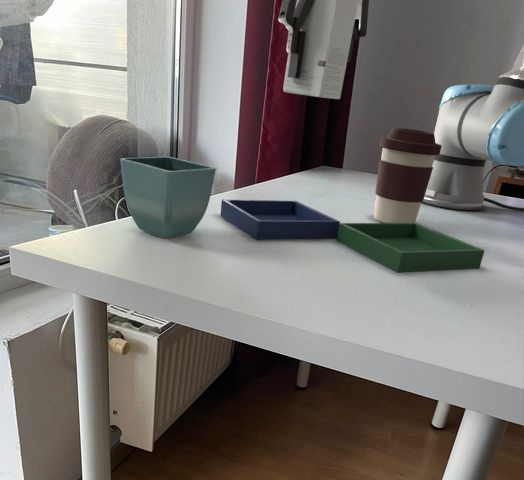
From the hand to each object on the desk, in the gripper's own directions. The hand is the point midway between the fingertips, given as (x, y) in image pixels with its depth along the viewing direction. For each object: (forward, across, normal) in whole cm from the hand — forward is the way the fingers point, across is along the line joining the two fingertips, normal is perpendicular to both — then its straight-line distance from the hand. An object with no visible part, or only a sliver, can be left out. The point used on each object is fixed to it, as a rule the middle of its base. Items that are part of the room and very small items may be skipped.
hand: (315, 80), depth 90 cm
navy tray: (+21, +11, +14) cm, 27 cm away
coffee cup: (+21, -14, +10) cm, 27 cm away
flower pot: (+21, +29, +17) cm, 39 cm away
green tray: (+20, -3, +28) cm, 35 cm away
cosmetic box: (+3, 0, 0) cm, 3 cm away
